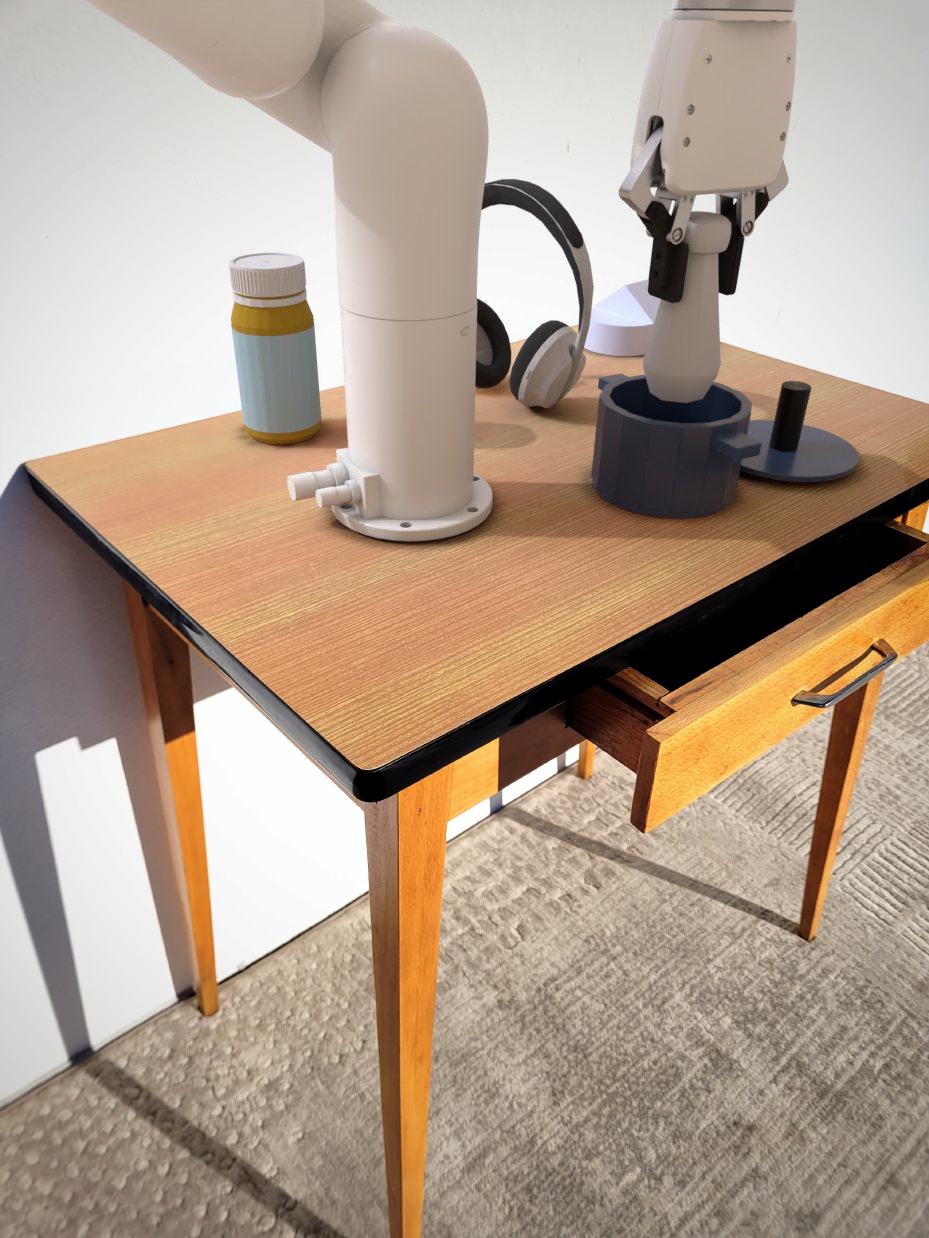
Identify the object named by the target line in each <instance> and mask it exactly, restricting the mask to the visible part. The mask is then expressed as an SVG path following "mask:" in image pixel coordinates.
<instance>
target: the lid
mask: <svg viewBox="0 0 929 1238" xmlns="http://www.w3.org/2000/svg"><path fill="white" fill-rule="evenodd" d="M811 392H812V386H811V385H810V384H809V383H807V382H803V381H800V380H799V381H798V380H787V381H783V382H782V383H781V387H780V391H779V397H778V401H777V405H776V406H777V407H776V410H775V414H774V420H772V419H771V420H769V419H752V420H751V419H750V421H749V426H748V432H747V436H749V437H751V438H753V439H755V440H757V441H759V442H761V443H762V445H761V449H760V454H759V455H758V456H754V457H750V458H746V459H742V462H741V467H740V471H741V472H744V473H746V474H750V475H753V476H757V477H759V478H760V477H761V478H766V479H769V480H776V481H782V482H794V483H819V482H827V481H834V480H838V479H840V478H844V477H846V476H848V475H850V474H851V473H853V472H854V471H855V470H856V469H857V467H858V466H859V462H860V455H859V451H858V450H857V449H856V447H854V445H853V444H851V443H850V442H848V441H847V440H846V439H844V438H842V437H840V436H839V435H836V434H834V433H832V432H831V431H830V432H829V431H827V430H825V429H821V428H818V427H814V426H810V425H807V424H804V422H805V417H806V413H807V410H808V409H807V408H808V404H809V401H810V396H811Z"/></svg>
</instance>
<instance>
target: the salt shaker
mask: <svg viewBox="0 0 929 1238" xmlns="http://www.w3.org/2000/svg"><path fill="white" fill-rule="evenodd" d="M730 237H731V222H730V221H729V220H728V218H727V217H725V216H723V215H720V214H717V213H716V212H713V211H701V210H700V211H699V210H695V211H694V210H692V211H691V214H690V218H689V221H688V224H687V228H686V231H685V235H684V238H683V240H682V241H681V242H684V243H687V244H689V254H688V261H687V268H686V276H685V283H684V290H683V297H682V299H681V300H680V302H678V303H670V302H667V301H665V300H662V299H661V301H660V304H659V308H658V311H657V315H656V318H655V322H654V325H653V329H652V332H651V335H650V339H649V342H648V346H647V349H646V353H645V355H643V360H642V368H643V371H644V375H645V376H646V380H647V384H648V387H649V391H650V393H652V394H653V395H655V396H656V397H658V398H659V399H661V400H665V401H673V402H681V403H688V402H692V401H696V400H700V399H703V398H704V396H705V394H706V393H707V391H708V390H709V388H710V387H711V385H712V383H713V382H715V380H716V379H717V377H718V375H719V371H720V369H721V365H722V364H721V361H722V360H721V359H722V358H721V334H720V333H721V332H720V330H721V329H720V328H721V327H720V309H719V308H720V303H719V301H720V298H719V297H720V296H719V295H720V293H719V286H718V253H720V252H723V251H725V250H726V249H727V247H728V244H729V241H730Z"/></svg>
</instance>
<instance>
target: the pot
mask: <svg viewBox="0 0 929 1238" xmlns="http://www.w3.org/2000/svg"><path fill="white" fill-rule="evenodd" d="M597 383H598V384H597V389H598V390H599V391H600V394H599V396H598V403H597V414H596V424H595V434H594V446H593V456H592V466H591V473H590V474H591V475H590V477H591V485H592V487H593V489H594V491H595V492H596V494H597V495H598V496H599V497H600V498H602V499H603V500H604V501H606V502H607V503H609V504H611V505H612V506H615V507H617V508H619V509H622V510H625V511H627V512H630V513H634V514H639V515H642V516H647V517H654V518H661V519H662V518H663V519H695V518H700V517H706V516H710V515H714V514H716V513H717V514H718V513H719V512H721V511H723V510H725V509H726V508H728V507H729V506H730V505H731V504H732V503H733V501H734V499H735V496H736V493H737V487H738V482H739V477H740V471H741V470H740V467H741V462H742V459H746V458H750V457H754V456H758V455H759V454H760V449H761V445H762V443H761V442H759V441H757V440H755V439H753V438H751V437H749V436H747V432H748V426H749V421H750V420H751V415H752V409H753V402H752V401H751V400H750V399H749V398H748V397H747V396H746V395H745V393H743V392H741V391H740V390H737V389H735V388H733V387H730V386H729V385H725V384H723V383H721V382H716V381H714V382H713V383H712V385H711V387H710V388H709V390H708V391H707V393H706V394H705V396H704V398H703V399H700V400H696V401H692V402H688V403H681V402H673V401H665V400H661V399H659V398H658V397H656V396H655V395H653V394H652V393H650V391H649V387H648V384H647V380H646V376H645V374H639V375H632V376H627V375H626V374H624V373H617V374H611V375H606V376H600V377H598V382H597Z"/></svg>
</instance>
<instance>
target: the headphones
mask: <svg viewBox="0 0 929 1238" xmlns="http://www.w3.org/2000/svg"><path fill="white" fill-rule="evenodd" d="M498 205H499V206H500V205H504V206H513V207H516V208H517V209H520V210H523V211H525V212H527V213H529V214H531V215H533V217H535V218H536V219H537V220H538V221H539V222H541V223H542V224H543V225H544V227H545V229H547V231H548V232H549V233H550V234H551V236H552V237H553V239H554V240H555V241H556V242H557V244H558V245H559V246H560V248H561V249H562V251H563V253H564V256H565V258H566V261H567V263H568V264H569V265H568V266H569V267H570V269H571V271H572V274H573V278H574V281H575V285H576V292H577V299H578V307H579V308H578V327H577V328H578V330H577V332H576V330H575V329H574V328H573V327H572V326H570V325H569V324H567V323H566V322H563V321H560V320H555V319H550V320H548V321H545V322H543V323H541V324H540V325H539V326H538V327H536V328H535V329H534V331H533V332H531V334H530V335H529V336H528V337H527V338H526V340H525V341H524V343H523V344H522V346H521V347H520V349H519V351H518V353H517V355H516V357H515V360H514V362H513V364H512V347H511V341H510V337H509V336H510V335H509V334H508V330H507V329H506V327H505V324H504V322H503V321H502V319H501V318H500V316H499V315H498V313H497V312H496V311H495V310H494V308H492V307H491V306H490V305H489V304H488V303H486V301H483V300H481V299H480V298H478V297H477V332H476V378H475V389H476V390H477V389H478V390H487V389H492V388H495V387H497V386H498V385H499V384H501V383H502V382H503V381H504V380H505V379H506V377H507V375H508V374H509V372H510V376H509V381H508V382H509V389H510V393H511V394H512V396H513V398H514V399H515V400H516V401H517V402H519V404H521V405H522V406H524V407H526V408H532V407H542V408H545V409H549V408H552V407H553V406H554V405H555V404H556V403H559V402H560V401H562V400H563V398H564V397H566V396H567V395H568V394H569V393H570V392H571V390H573V388H574V386H575V385H576V384H577V383H578V381H579V379H580V377H581V376H582V373H583V371H584V369H585V367H586V363H587V356H586V354H585V353H584V349H585V348H584V346H585V342H586V338H587V334H588V330H589V326H590V318H591V309H592V307H593V300H594V299H593V298H594V289H595V286H594V278H593V270H592V263H591V260H590V255H589V251H588V248H587V246H586V243H585V240H584V237H583V233H582V232H581V231H580V229H579V227H578V225H577V224H576V222H575V221H574V219H573V217H572V216H571V214H570V213H569V211H568V210H567V209H566V207H564V205H563V204H562V203H561V201H560V200H559V199H558V198H556V196H554V195H553V194H552V193H551V192H550V191H548V190H547V189H545V188H543V187H541V185H538V184H536V183H533V182H531V181H527V180H522V179H517V178H502V179H497V180H493V181H489V182H485V186H484V193H483V201H482V209H481V212H482V211H483V210H486V209H487V208H489V207H492V206H493V207H494V206H498ZM510 369H511V370H510Z"/></svg>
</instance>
